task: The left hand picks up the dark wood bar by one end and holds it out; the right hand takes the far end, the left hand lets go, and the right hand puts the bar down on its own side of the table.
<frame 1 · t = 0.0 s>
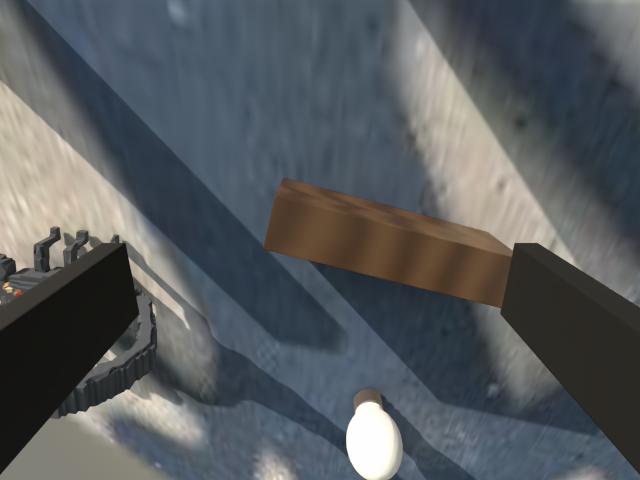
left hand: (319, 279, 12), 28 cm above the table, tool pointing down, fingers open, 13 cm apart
light bulb: (367, 399, 50), on the table
toy: (80, 276, 43), on the table
bar: (381, 227, 41), on the table
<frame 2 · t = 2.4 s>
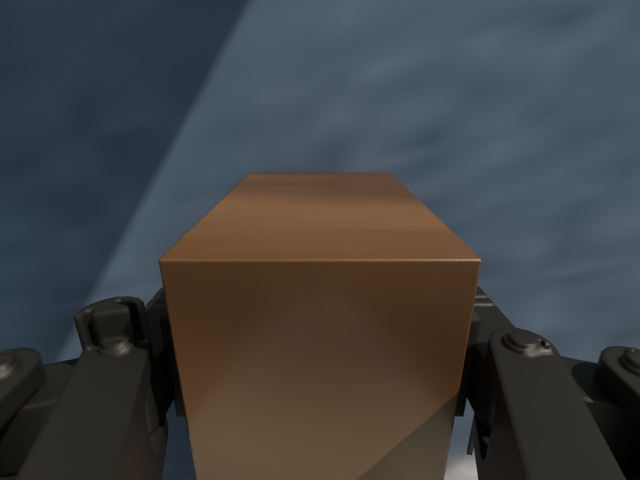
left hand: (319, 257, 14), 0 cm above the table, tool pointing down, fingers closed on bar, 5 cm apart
bar: (320, 418, 18), on the table, touching left hand
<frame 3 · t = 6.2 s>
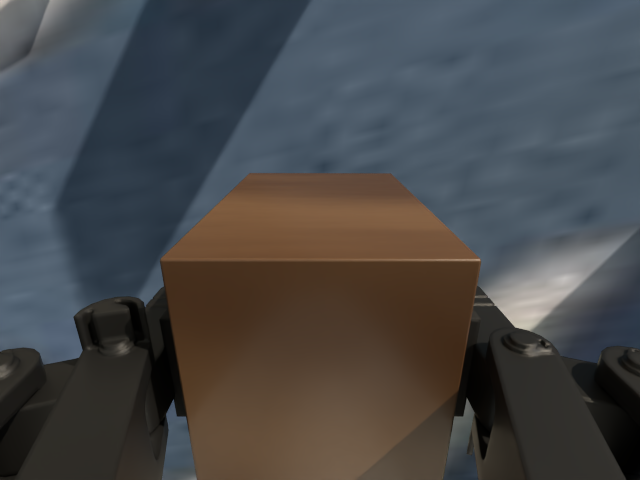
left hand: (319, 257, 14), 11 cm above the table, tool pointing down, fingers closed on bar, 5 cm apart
bar: (319, 418, 18), point 11 cm above the table, touching left hand, right hand
when the left hand's fingers open (11 cm above the table, at t = 7.2 s): bar stays where it is, held by the right hand.
when the right hand's fingers open (4 cm above the table, at t = 13.8 s): bar stays where it is, on the table.
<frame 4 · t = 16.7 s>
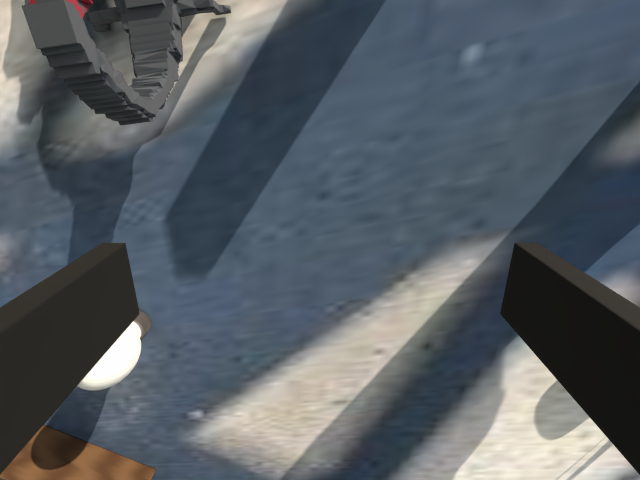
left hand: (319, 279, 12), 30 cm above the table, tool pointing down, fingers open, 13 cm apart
light bulb: (135, 320, 47), on the table
bar: (76, 450, 56), on the table
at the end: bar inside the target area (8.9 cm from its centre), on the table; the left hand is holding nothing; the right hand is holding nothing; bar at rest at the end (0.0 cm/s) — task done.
